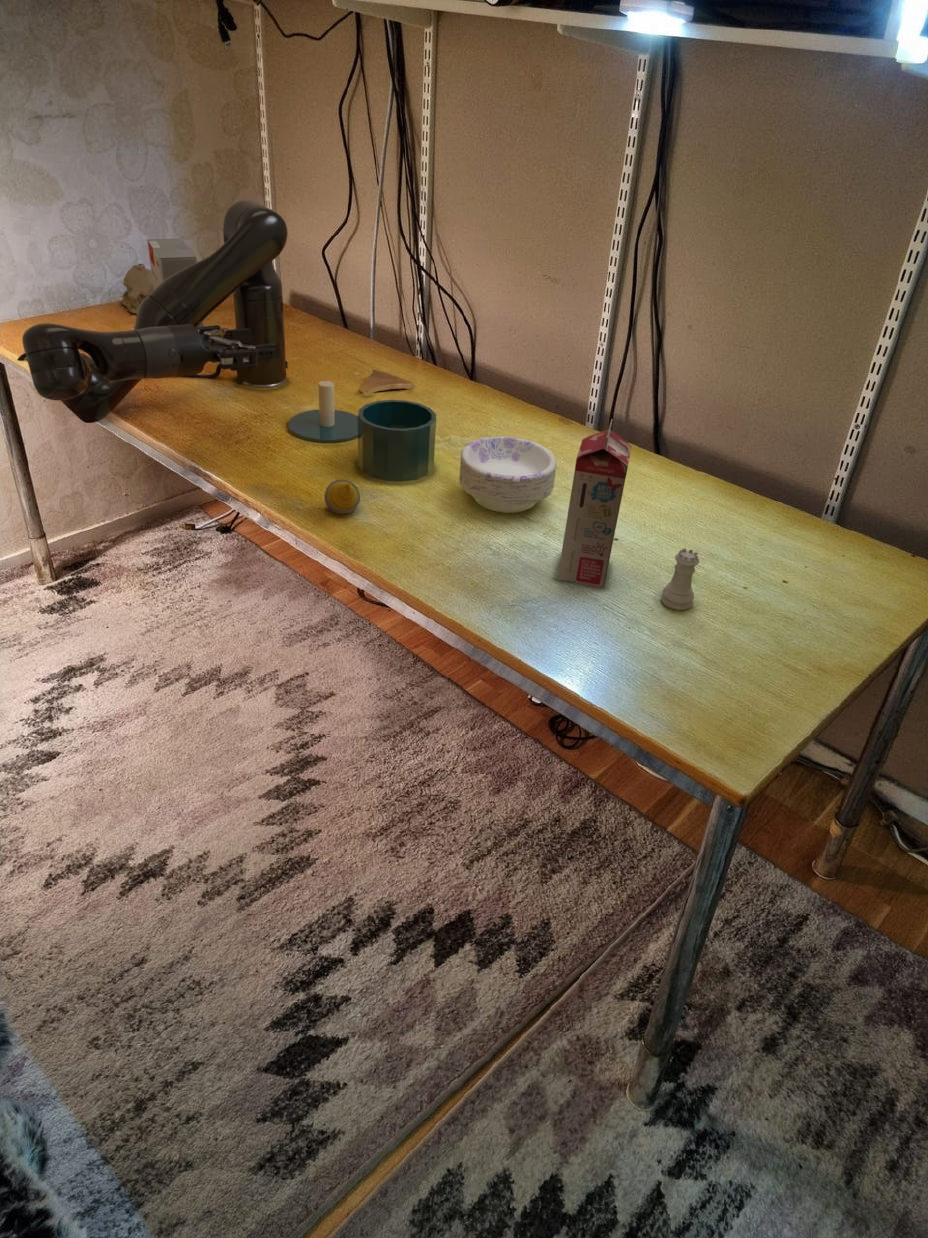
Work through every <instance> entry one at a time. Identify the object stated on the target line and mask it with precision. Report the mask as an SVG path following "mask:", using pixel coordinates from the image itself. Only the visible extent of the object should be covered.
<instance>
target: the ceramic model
mask: <svg viewBox="0 0 928 1238" xmlns="http://www.w3.org/2000/svg"><path fill="white" fill-rule="evenodd" d="M123 286H124V287H125V288H126V290H124V291H123V293H122V296H121V297H122V303H121V304H122V306H125V307H126V308H127V309H128V311H129V312H130V313H132V314H136V315H137V312H138V309H139V306H140V304H141V302H142V301H143V300H144V299H145V298H146V297H147V296H148V295H149V294H150V293H151V292H152V291H153V290H154V288H153V280H152V272H151V269H149V268H146V265H145V264H144V263H138V264H134V265H132V267H131V268H130V269H128V270H127V272H126V274H125V275H124V278H123Z"/></svg>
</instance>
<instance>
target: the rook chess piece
mask: <svg viewBox="0 0 928 1238" xmlns="http://www.w3.org/2000/svg"><path fill="white" fill-rule="evenodd" d="M674 559H675V561H676V564H675V565H674V566H673V567H674V571H673V572H674V573H673V574H672V577H671V580H670V582H668V583H667V585H665V586H664V588H663V589H662V594H661V595H660V600H661V602H662V604H663V605H664V606H665V607H667V608H668V609H671V610H674V611H686V610H688V609H690V608H691V607H692V606H693V605H694V602H693V601H694V599H695V594H694V590H693V587H692V583H693V582H692V581H693V577H694V576H693V574H695V573H696V568H695V567H696V566H698V565H699V564H700V558H699V553H698V551H694V549H692V548H689V550H688V549H687V548H686V547H684V548H682V549H679V551H678V553H676V554H675V556H674Z"/></svg>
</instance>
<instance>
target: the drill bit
mask: <svg viewBox="0 0 928 1238" xmlns="http://www.w3.org/2000/svg"><path fill="white" fill-rule="evenodd" d="M323 496H324V502H325V505H326V507H327V508H328V509H329V511H331V512H333V514H337V515H340V516H345V515H349V514H352V513H353V512H354V511H355V510H356V509H357V507H358V506H359V504H360V502H361V501H360V500H361V494H360V489H358V487H357V485H356V484H355V483H354V482H353V481H350V480H348V479H342V478H340V479H335V480H333V481H332V482H330V483H329V484H328V485H327V487H326V489H325V491H324V495H323Z"/></svg>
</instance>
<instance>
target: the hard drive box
mask: <svg viewBox="0 0 928 1238" xmlns="http://www.w3.org/2000/svg"><path fill="white" fill-rule="evenodd" d="M146 242H147V243H146V244H147V250H148V256H149V264H150V270H151V272H152V280H153V288H154V289H155V288H157V287H158V286H159V285H160V284H161V283H162V282H163V281H164V280H165V279H167V278H168V277H169V276H171V275H173V274H174V273H176V272H178V271H180V270H182V269H184V268H186V267H188V266H191V265H193V264H195V263H197V262H198V261H197V256H196V255H195V254H194V252H193V251H192V250H191V249H190V247H189V246H188V245H187V243H186V242H185V241H184V240H183V238H151V239H150V238H148V239H146ZM198 327H204V321H203V322H202V323H201V324H200V325H199V326H198Z"/></svg>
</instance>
